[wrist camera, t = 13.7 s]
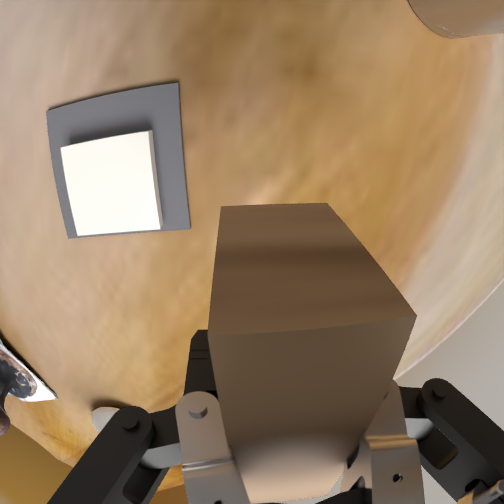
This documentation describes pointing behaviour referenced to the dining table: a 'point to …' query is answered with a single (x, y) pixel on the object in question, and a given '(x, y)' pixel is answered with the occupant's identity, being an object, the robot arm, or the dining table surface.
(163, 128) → the mat
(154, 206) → the tile
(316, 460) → the brown rectangular block
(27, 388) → the head bust
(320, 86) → the dining table surface
